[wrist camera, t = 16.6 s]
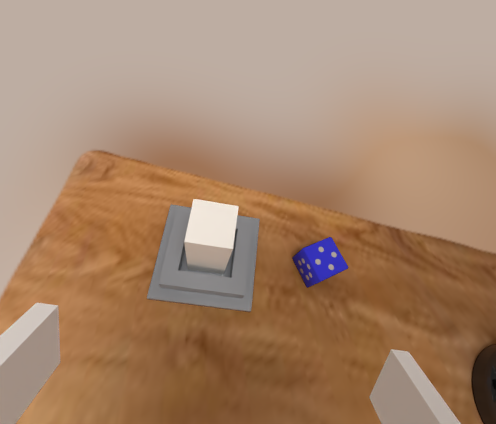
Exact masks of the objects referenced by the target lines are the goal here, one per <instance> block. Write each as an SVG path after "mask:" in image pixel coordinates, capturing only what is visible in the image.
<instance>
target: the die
mask: <svg viewBox="0 0 496 424" xmlns="http://www.w3.org/2000/svg"><path fill="white" fill-rule="evenodd" d="M292 259H293V261H294V263H295V265H296V267H297V269H298V271H299V273H300V275H301V277H302V279H303V280H304V282H305V284H306V286H307V287H310V286H312V285H314V284H317V283H319V282H321V281H323V280H325V279H327V278H329V277H331V276H333V275H335V274H338V273H340V272H342V271H344V270H346V269H348V266H347V264H346V262H345V261H344V259H343V257H342V255H341V254H340V252H339V250H338V248H337V247H336V245H335V243H334V241H333V240H332V238H331V237H329V238H326V239H324V240H322V241H319V242H317V243H314V244H312V245H310V246H307V247H305V248H303V249H302V250H301V251H299V252H298V253H297V254H296V255H295V256H294V257H293V258H292Z"/></svg>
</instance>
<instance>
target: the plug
mask: <svg viewBox="0 0 496 424" xmlns="http://www.w3.org/2000/svg"><path fill="white" fill-rule="evenodd" d="M238 207H239V206H234V205H228V204H222V203H216V202H210V201H204V200H198V199H193V204H192V208H191V213H190V218H189V222H188V227H187V231H186V236H185V241H184V243H185V251H186V258H187V266H188V270H195V271H202V272H209V273H216V274H224V271H225V269H226V266H227V263H228V261H229V258H230V255H231V253H232V250H233V245H234V237H235V230H236V222H237V215H238Z"/></svg>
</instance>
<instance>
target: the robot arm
mask: <svg viewBox="0 0 496 424" xmlns="http://www.w3.org/2000/svg"><path fill="white" fill-rule="evenodd" d="M59 363H60V340H59V312H58V306H57V305H50V304H42V303H36V304H34V305H33V306H32V307H31V308H30V309H29V310H28V311H27V312H26V313H25V314H24V315H22V316H21V317H20V318H19V319H18V320H17V321H16V322H15V323H14V324H13V325H11V326H10V327H9V328H8V329H7V330H6V331H5V332H4V333H3V334H2V335H1V336H0V424H16V422H17V421H18V420H19V418H20V417H21V415H22V414H23V413H24V411H25V410H26V409H27V407H28V406H29V405H30V403H31V402H32V400H33V399H34V398H35V396H36V395H37V394H38V392H39V391H40V389H41V388H42V387H43V385H44V384H45V383H46V381H47V380H48V379H49V377H50V376H51V374H52V373H53V372H54V370H55V369H56V368H57V366H58V365H59ZM473 391H474V396H475V401H476V404H477V407H478V410H479V413H480V415H481V418H482V420H483V422H484V424H496V344H494V345H491V346H489V347H487V348H486V349H484V350H483V351H482V352H481V353H480V355H479V356H478V358H477V360H476V363H475V366H474V371H473ZM369 398H370V400H371V402H372V404H373V406H374V409H375V411H376V413H377V415H378V417H379V419H380V422H381V424H461V423H460V422H459V421H458V419H457V418H456V416H455V415H454V414H453V412H452V411H451V410H450V408H449V407H448V405H447V404H446V403H445V401H444V400H443V399H442V397H441V396H440V394H439V393H438V392H437V390H436V389H435V388H434V386H433V385H432V383H431V382H430V381H429V379H428V378H427V376H426V375H425V374H424V372H423V371H422V370H421V368H420V367H419V365H418V364H417V363H416V361H415V360H414V359H413V357H412V356H411V354H410V353H409V352H408V351H400V350H393V349H391V351H390V353H389V355H388V357H387V359H386V362H385V364H384V366H383V368H382V370H381V373H380V375H379V377H378V379H377V381H376V384H375V386H374V388H373V390H372V392H371V395H370V397H369Z"/></svg>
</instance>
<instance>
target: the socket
mask: <svg viewBox="0 0 496 424" xmlns="http://www.w3.org/2000/svg"><path fill="white" fill-rule="evenodd" d="M190 213H191V208H189V207H183V206H177V205H171V206H170V210H169V214H168V218H167V221H166V225H165V229H164V233H163V237H162V241H161V245H160V249H159V253H158V256H157V260H156V264H155V268H154V272H153V276H152V280H151V284H150V288H149V292H148V295H147V299H151V300H159V301H167V302H175V303H183V304H191V305H198V306H206V307H214V308H222V309H230V310H238V311H245V312H251V307H252V296H253V285H254V274H255V263H256V252H257V241H258V231H259V220H260V219H256V218H250V217H244V216H238V215H237V222H236V230H235V237H234V245H233V250H232V253H231V255H230V258H229V261H228V263H227V266H226V269H225V271H224V274H216V273H209V272H202V271H195V270H188V266H187V258H186V251H185V243H184V241H185V236H186V231H187V227H188V222H189V218H190Z"/></svg>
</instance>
